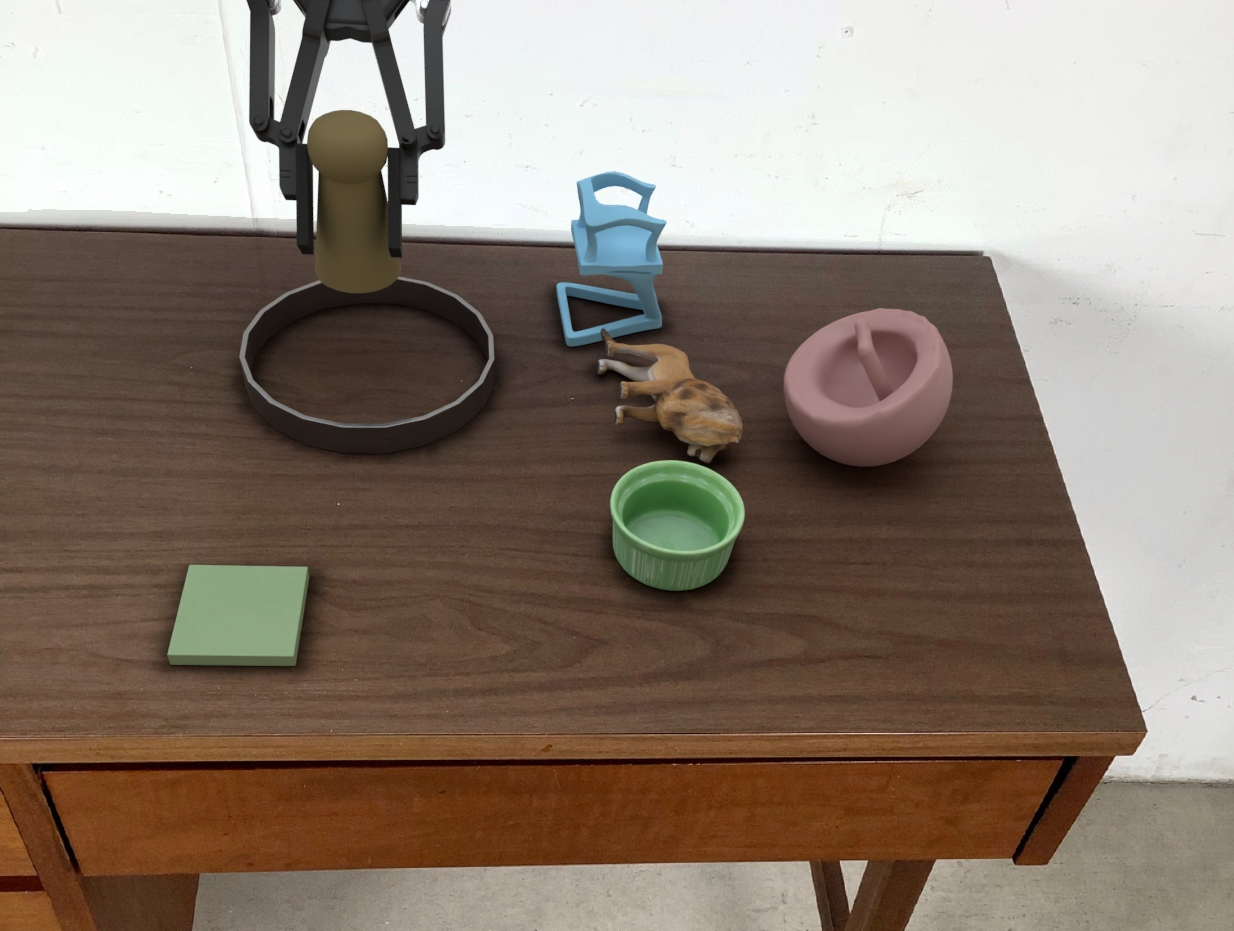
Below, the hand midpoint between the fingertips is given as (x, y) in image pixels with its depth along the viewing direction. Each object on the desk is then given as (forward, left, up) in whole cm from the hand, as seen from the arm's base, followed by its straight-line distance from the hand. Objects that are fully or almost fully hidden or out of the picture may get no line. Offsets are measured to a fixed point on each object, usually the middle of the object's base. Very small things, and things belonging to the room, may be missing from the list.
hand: (350, 250), depth 81 cm
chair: (+15, +17, -14) cm, 26 cm away
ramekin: (+25, -8, -14) cm, 30 cm away
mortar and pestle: (+36, +7, -14) cm, 39 cm away
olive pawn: (-1, +4, -4) cm, 5 cm away
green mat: (0, -22, -13) cm, 26 cm away
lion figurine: (+17, +5, -11) cm, 21 cm away
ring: (-1, +4, -13) cm, 14 cm away
